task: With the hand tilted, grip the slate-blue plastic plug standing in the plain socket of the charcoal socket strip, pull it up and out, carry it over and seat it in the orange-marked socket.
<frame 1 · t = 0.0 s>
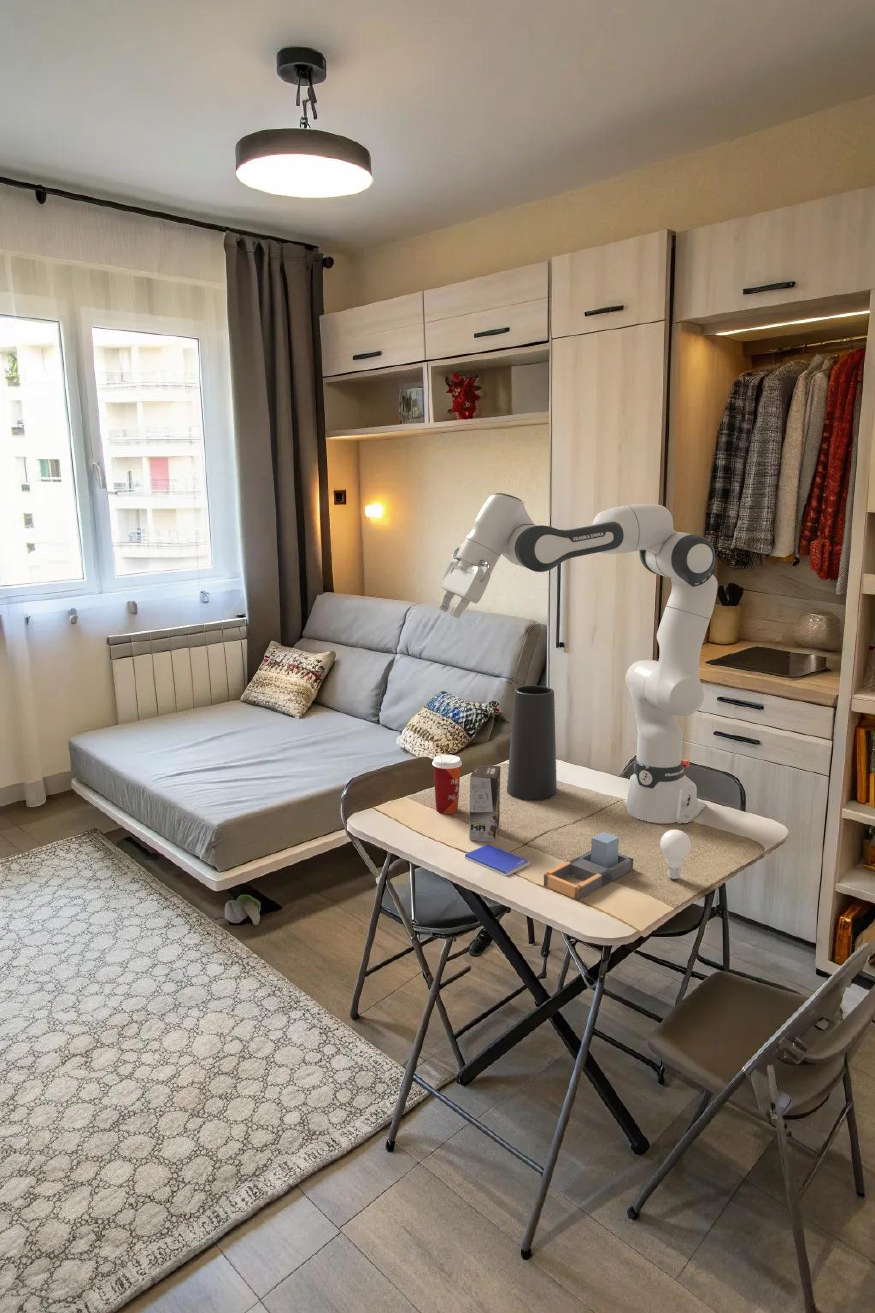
hand: (448, 613, 188), 54 cm above the table, tool tilted 30°, fingers open, 8 cm apart
vase: (531, 792, 229), on the table
lightbulb: (673, 879, 179), on the table
hard drive: (497, 864, 187), on the table
coffee box: (484, 834, 202), on the table
paper cup: (446, 810, 216), on the table
plug: (603, 869, 183), resting in socket strip
socket strip: (589, 877, 180), on the table
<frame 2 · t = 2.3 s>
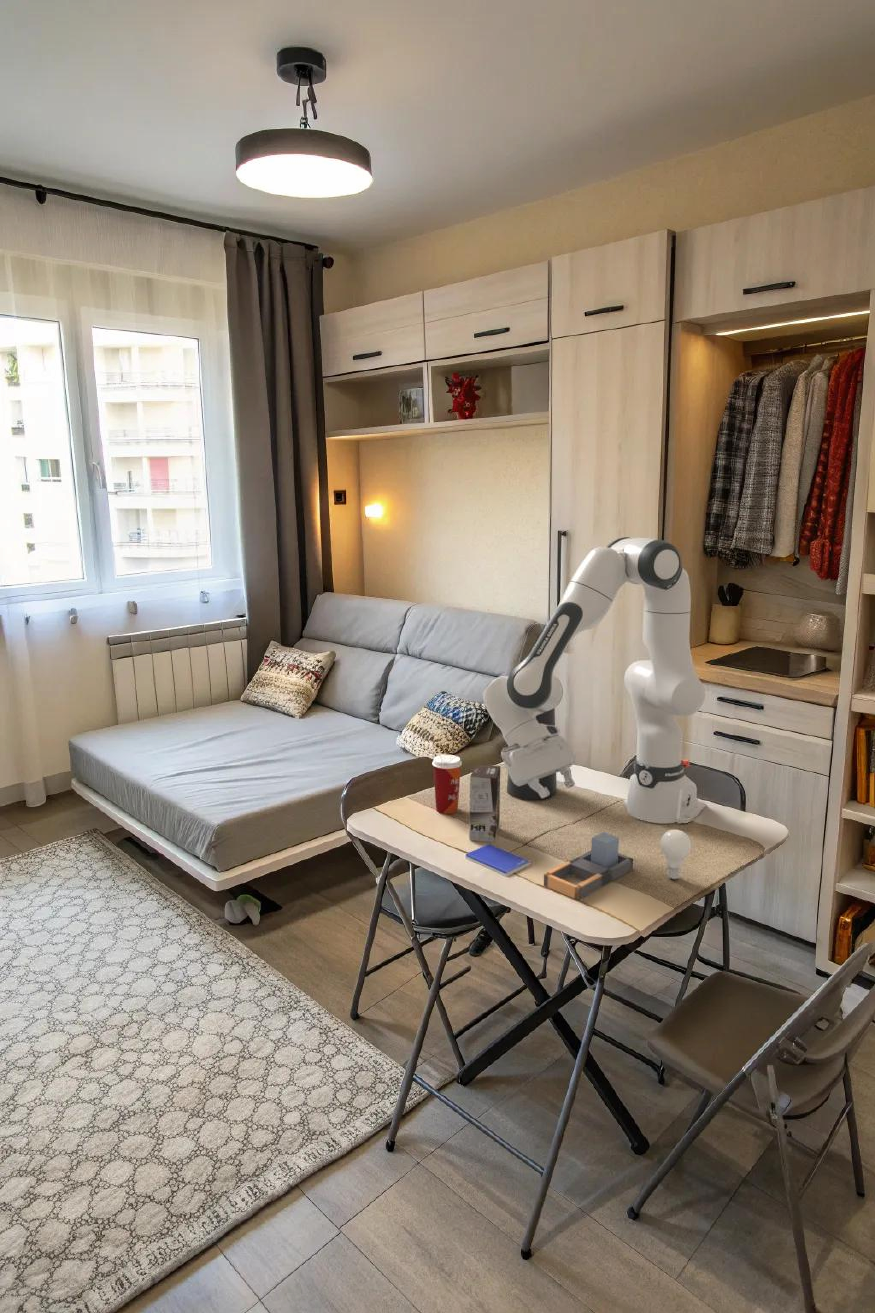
hand: (559, 791, 189), 15 cm above the table, tool tilted 45°, fingers open, 8 cm apart
nothing on the table moved.
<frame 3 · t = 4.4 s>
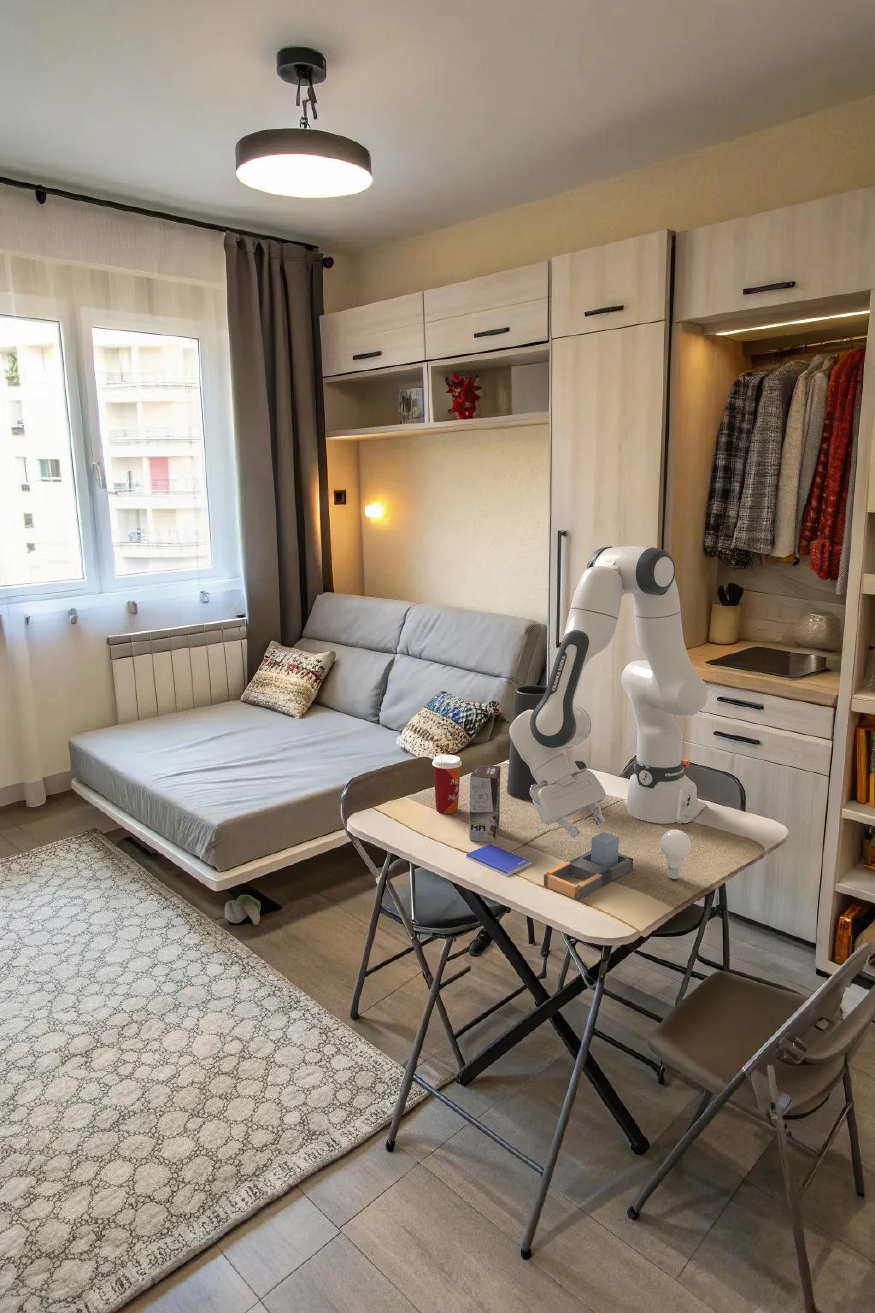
hand: (589, 829, 185), 8 cm above the table, tool tilted 45°, fingers open, 8 cm apart
nothing on the table moved.
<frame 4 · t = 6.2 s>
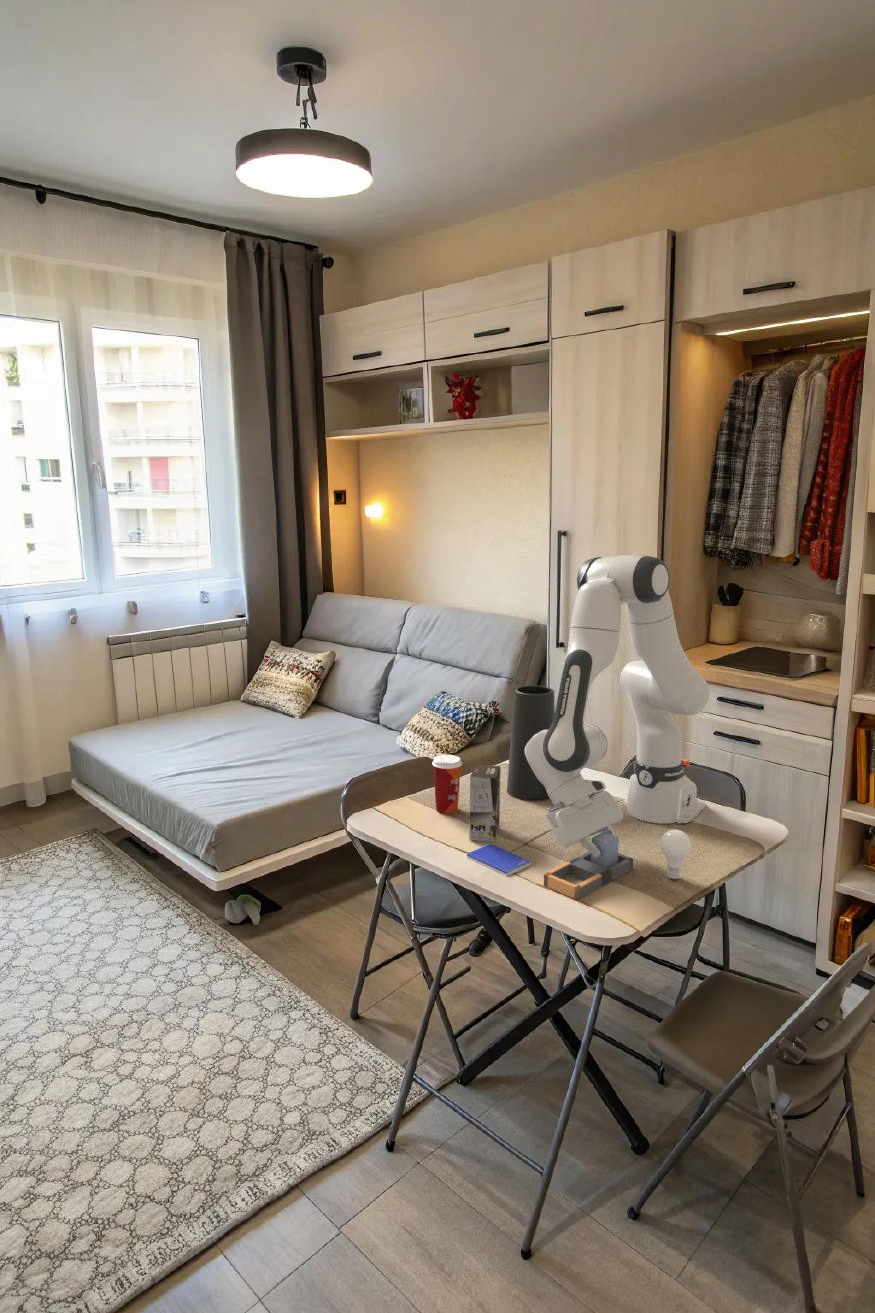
hand: (607, 851, 182), 4 cm above the table, tool tilted 45°, fingers closed on plug, 4 cm apart
plug: (603, 869, 183), resting in socket strip, touching gripper
everything else where it was.
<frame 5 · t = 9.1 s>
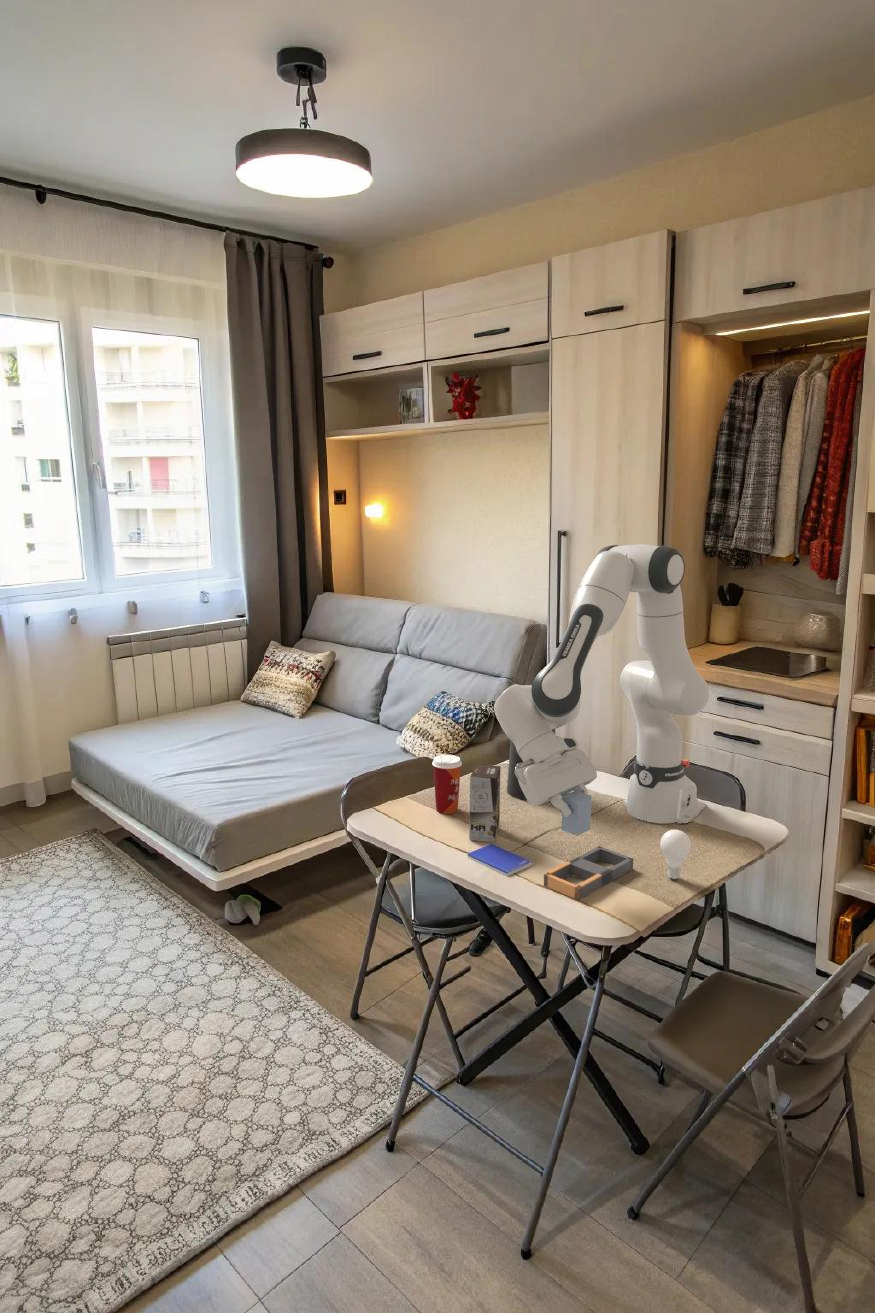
hand: (579, 810, 172), 17 cm above the table, tool tilted 45°, fingers closed on plug, 4 cm apart
plug: (575, 829, 173), point 13 cm above the table, touching gripper
everything else where it was.
when the fingers open (6 cm above the table, at t = 11.9 s): plug drops 2 cm, resting in socket strip.
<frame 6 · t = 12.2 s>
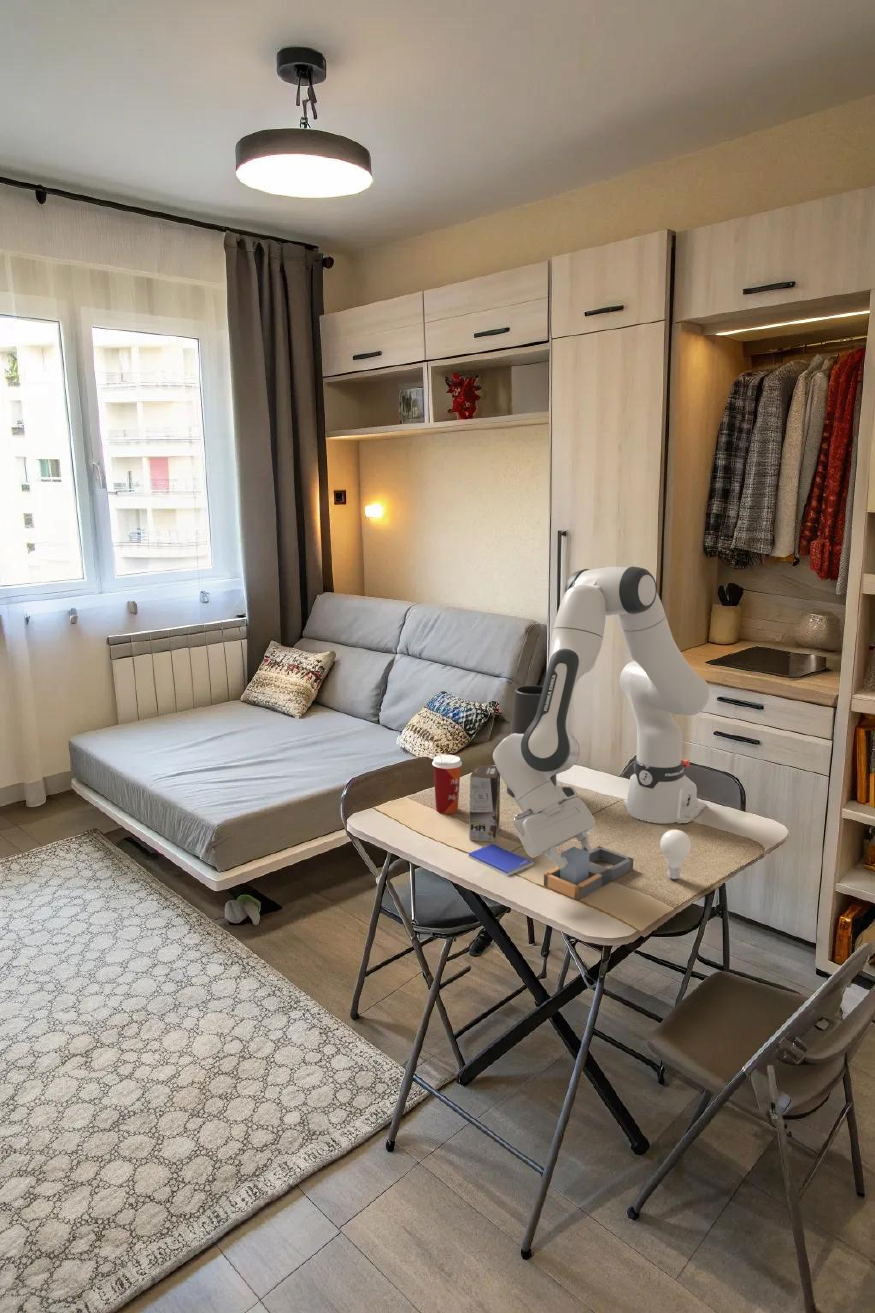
hand: (577, 860, 174), 6 cm above the table, tool tilted 45°, fingers open, 7 cm apart
plug: (573, 885, 176), resting in socket strip
everything else where it was.
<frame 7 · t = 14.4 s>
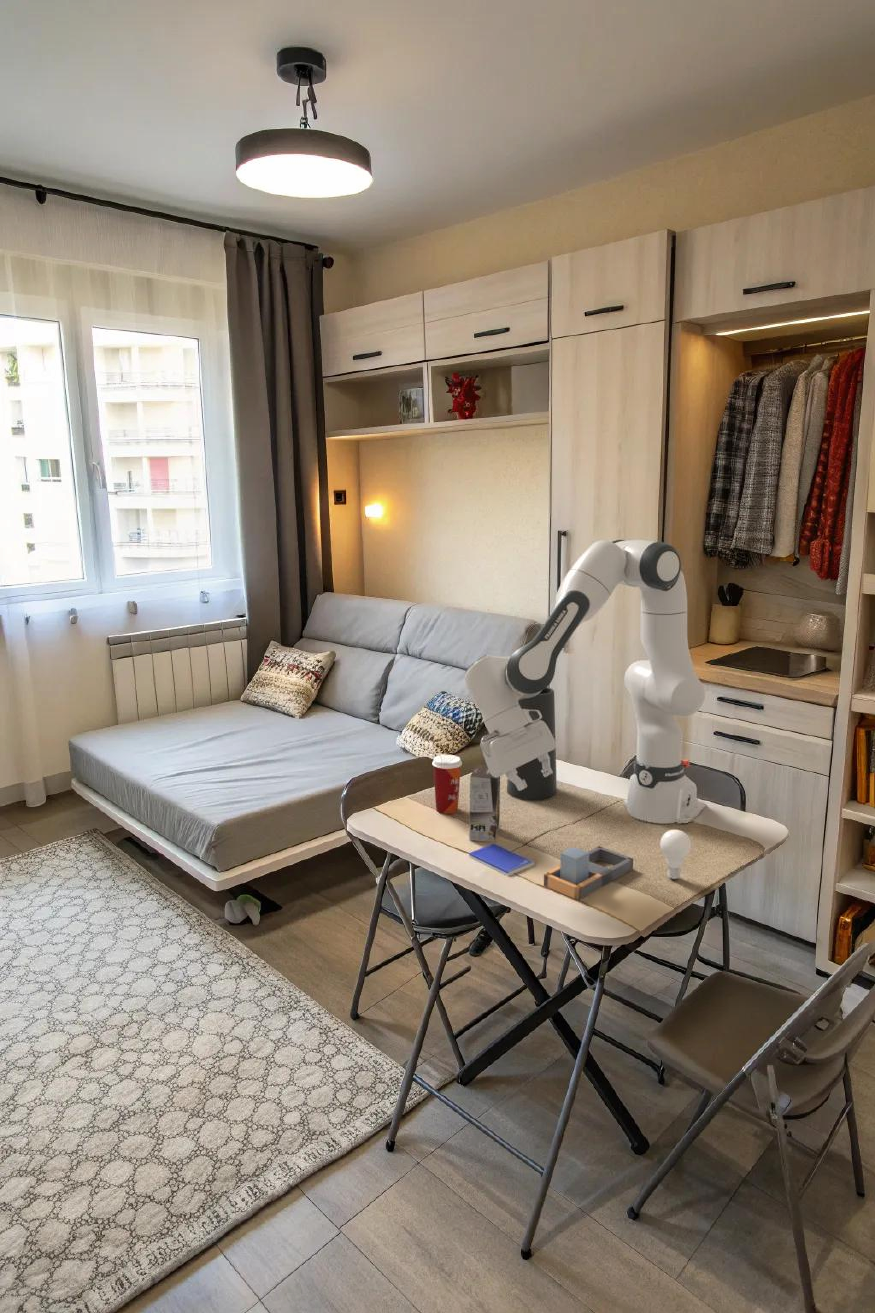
hand: (536, 782, 183), 19 cm above the table, tool tilted 35°, fingers open, 8 cm apart
nothing on the table moved.
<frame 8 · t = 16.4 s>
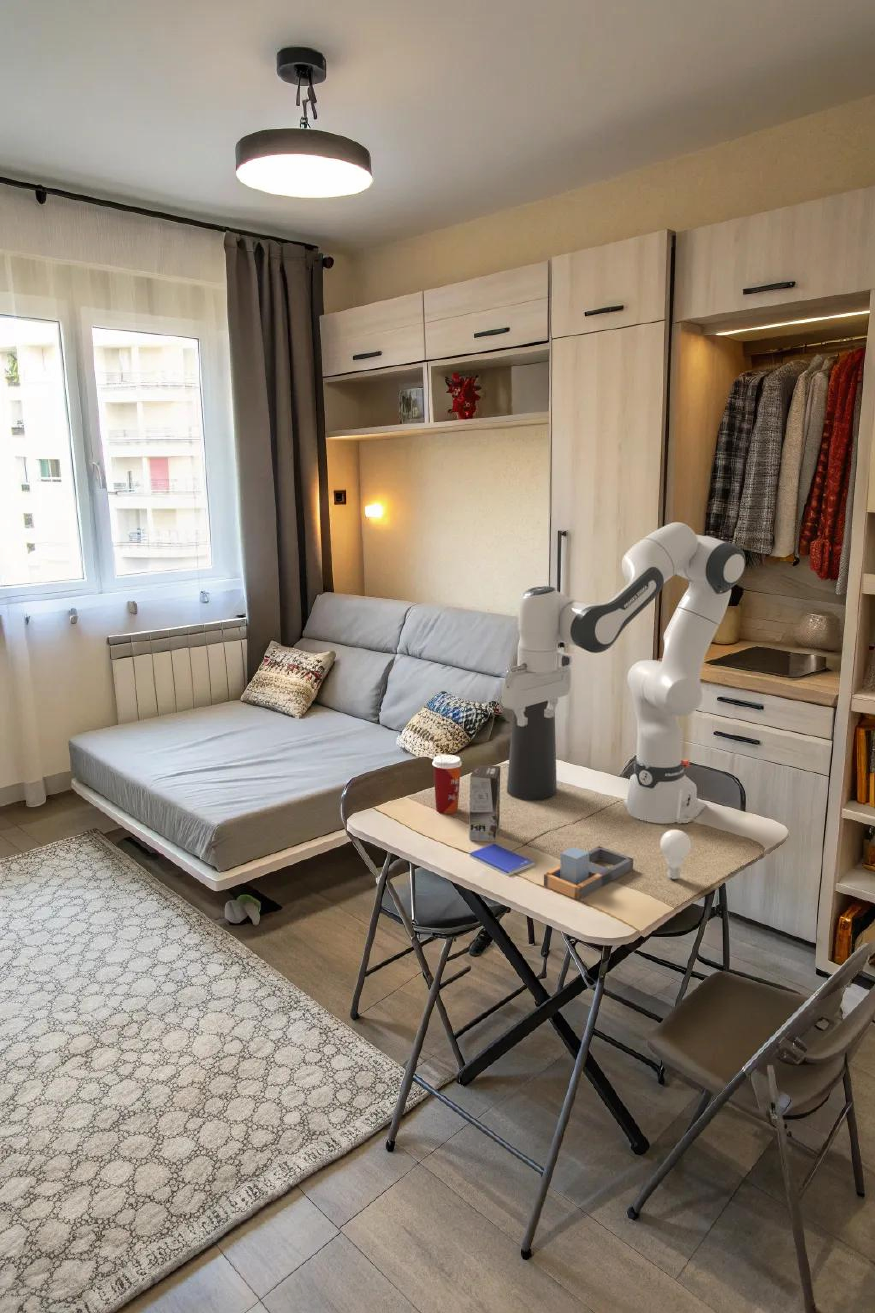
hand: (535, 721, 186), 31 cm above the table, tool pointing down, fingers open, 8 cm apart
at the end: plug 0.0 cm from the target spot on the socket strip, point 0.0 cm above the socket strip's base; plug tilted 0°; the gripper is holding nothing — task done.
